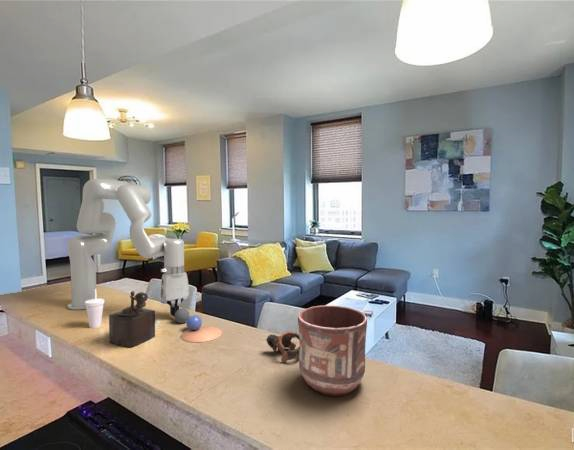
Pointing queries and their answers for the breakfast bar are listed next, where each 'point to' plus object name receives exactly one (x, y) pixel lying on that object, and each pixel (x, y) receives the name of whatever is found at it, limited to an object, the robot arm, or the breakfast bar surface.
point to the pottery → (332, 348)
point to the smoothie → (94, 311)
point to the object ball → (194, 322)
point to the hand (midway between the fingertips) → (174, 315)
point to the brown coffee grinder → (132, 323)
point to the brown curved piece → (284, 345)
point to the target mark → (201, 334)
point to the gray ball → (181, 315)
